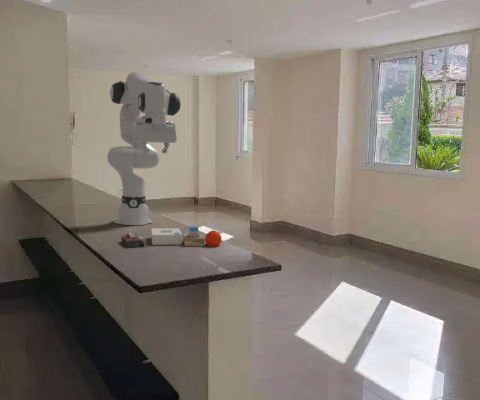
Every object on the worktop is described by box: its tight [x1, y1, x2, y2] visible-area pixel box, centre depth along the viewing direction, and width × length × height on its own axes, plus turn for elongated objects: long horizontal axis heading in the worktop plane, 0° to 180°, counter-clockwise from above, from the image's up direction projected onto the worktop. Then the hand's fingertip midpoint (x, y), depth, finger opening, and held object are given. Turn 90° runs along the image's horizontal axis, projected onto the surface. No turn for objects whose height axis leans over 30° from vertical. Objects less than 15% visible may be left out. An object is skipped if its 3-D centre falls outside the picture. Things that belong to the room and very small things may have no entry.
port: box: [150, 227, 183, 246], centre depth 209 cm, size 14×12×5 cm
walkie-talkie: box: [121, 232, 145, 248], centre depth 208 cm, size 9×4×20 cm
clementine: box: [204, 229, 222, 247], centre depth 205 cm, size 8×7×7 cm
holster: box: [182, 233, 205, 247], centre depth 206 cm, size 10×8×4 cm
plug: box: [188, 225, 199, 237], centre depth 206 cm, size 4×4×7 cm
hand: (155, 153), depth 211 cm, fingers open, 8 cm apart
